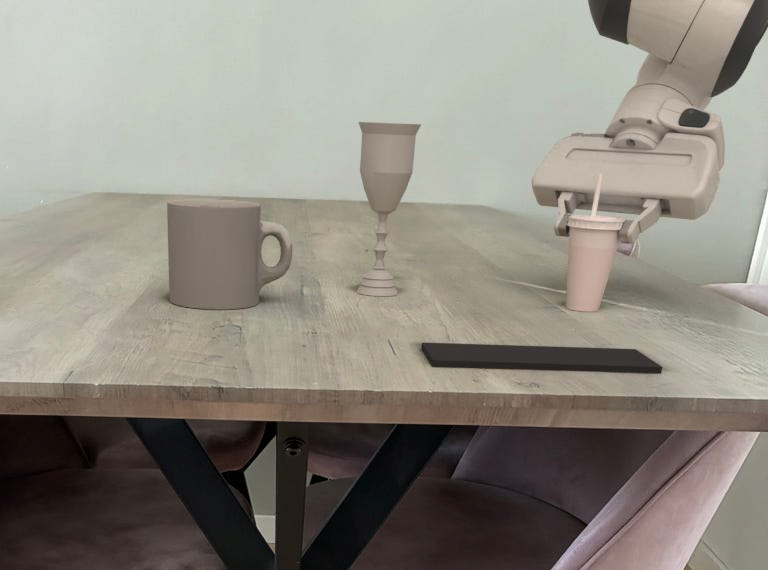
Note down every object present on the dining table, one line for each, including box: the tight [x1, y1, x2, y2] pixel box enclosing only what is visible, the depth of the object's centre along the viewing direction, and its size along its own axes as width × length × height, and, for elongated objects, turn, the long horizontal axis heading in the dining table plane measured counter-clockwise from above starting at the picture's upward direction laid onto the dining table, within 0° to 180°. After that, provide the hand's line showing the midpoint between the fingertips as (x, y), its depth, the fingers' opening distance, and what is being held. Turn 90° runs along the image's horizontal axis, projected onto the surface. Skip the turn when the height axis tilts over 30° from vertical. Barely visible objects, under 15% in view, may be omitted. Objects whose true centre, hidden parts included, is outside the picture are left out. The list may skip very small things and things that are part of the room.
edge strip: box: [420, 342, 663, 375], centre depth 85 cm, size 20×7×1 cm, turn 91°
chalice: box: [355, 121, 422, 297], centre depth 111 cm, size 7×7×18 cm
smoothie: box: [565, 174, 628, 313], centre depth 106 cm, size 6×6×14 cm
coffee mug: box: [166, 198, 293, 311], centre depth 104 cm, size 13×10×10 cm
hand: (592, 236), depth 106 cm, fingers closed on smoothie, 6 cm apart
